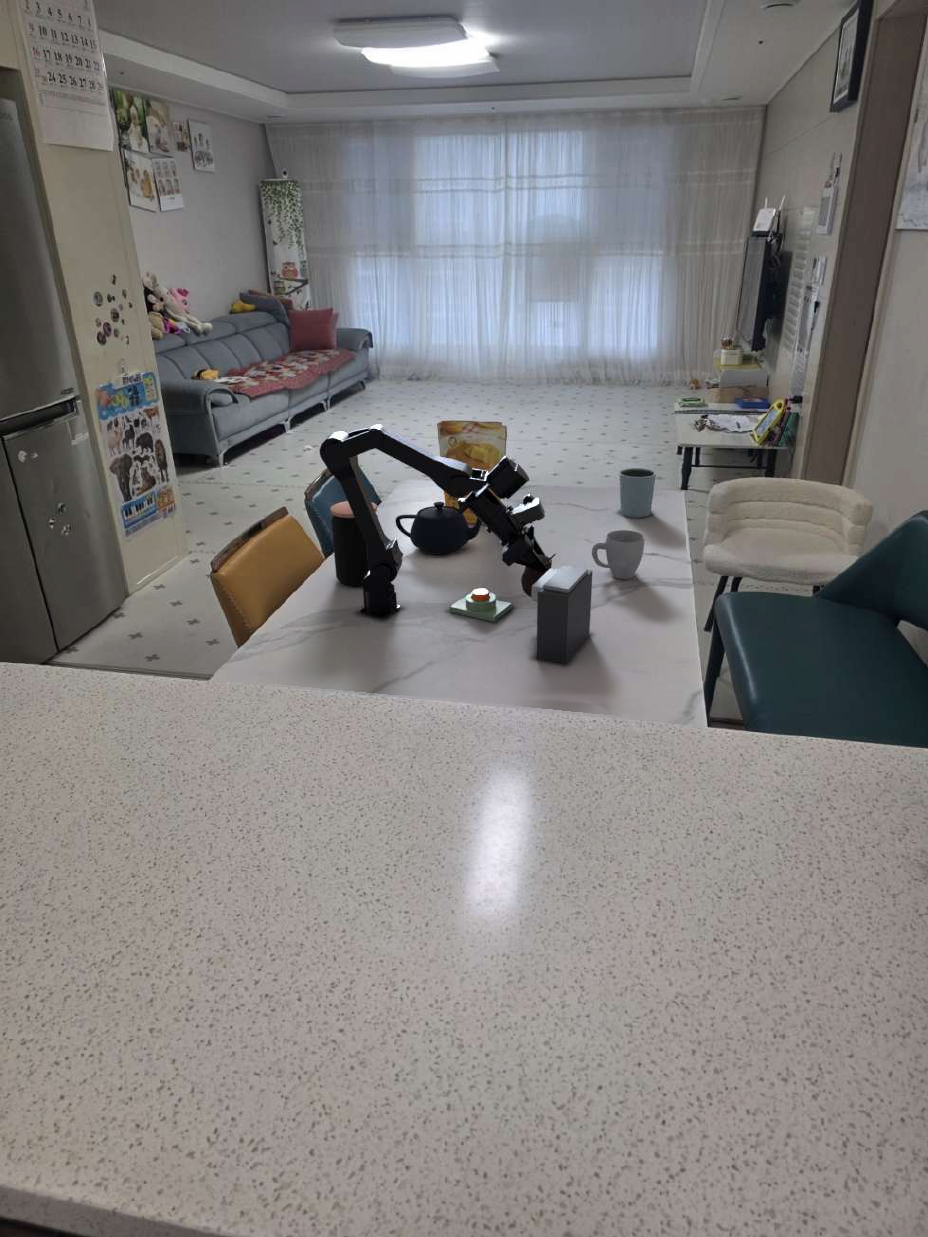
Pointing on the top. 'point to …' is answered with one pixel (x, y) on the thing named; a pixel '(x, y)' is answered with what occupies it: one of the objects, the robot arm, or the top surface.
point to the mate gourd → (534, 575)
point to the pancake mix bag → (472, 449)
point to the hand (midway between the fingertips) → (545, 565)
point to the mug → (621, 552)
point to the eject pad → (481, 607)
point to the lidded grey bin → (562, 612)
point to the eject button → (480, 595)
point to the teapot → (439, 529)
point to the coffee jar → (348, 546)
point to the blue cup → (636, 491)
